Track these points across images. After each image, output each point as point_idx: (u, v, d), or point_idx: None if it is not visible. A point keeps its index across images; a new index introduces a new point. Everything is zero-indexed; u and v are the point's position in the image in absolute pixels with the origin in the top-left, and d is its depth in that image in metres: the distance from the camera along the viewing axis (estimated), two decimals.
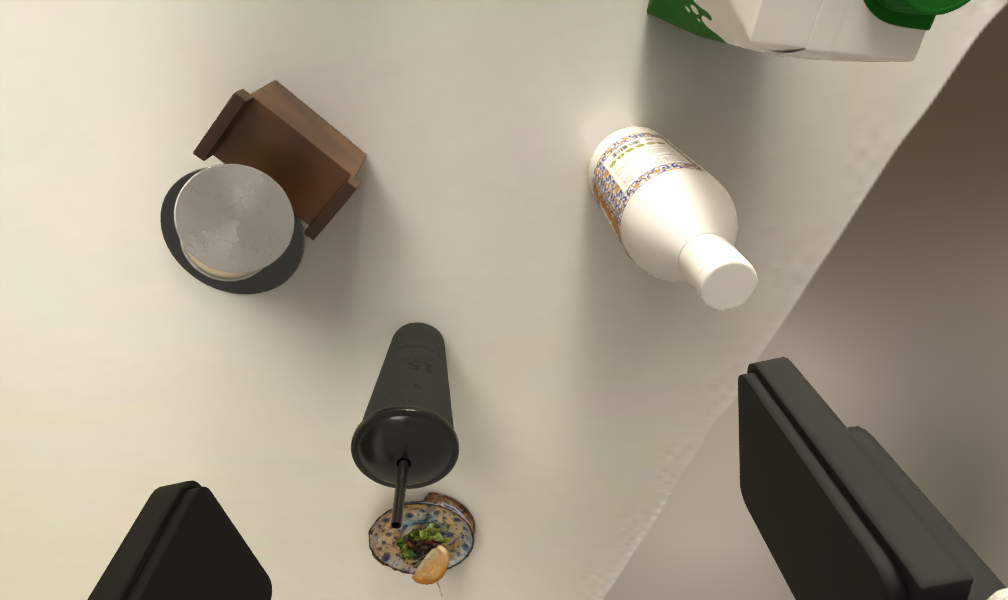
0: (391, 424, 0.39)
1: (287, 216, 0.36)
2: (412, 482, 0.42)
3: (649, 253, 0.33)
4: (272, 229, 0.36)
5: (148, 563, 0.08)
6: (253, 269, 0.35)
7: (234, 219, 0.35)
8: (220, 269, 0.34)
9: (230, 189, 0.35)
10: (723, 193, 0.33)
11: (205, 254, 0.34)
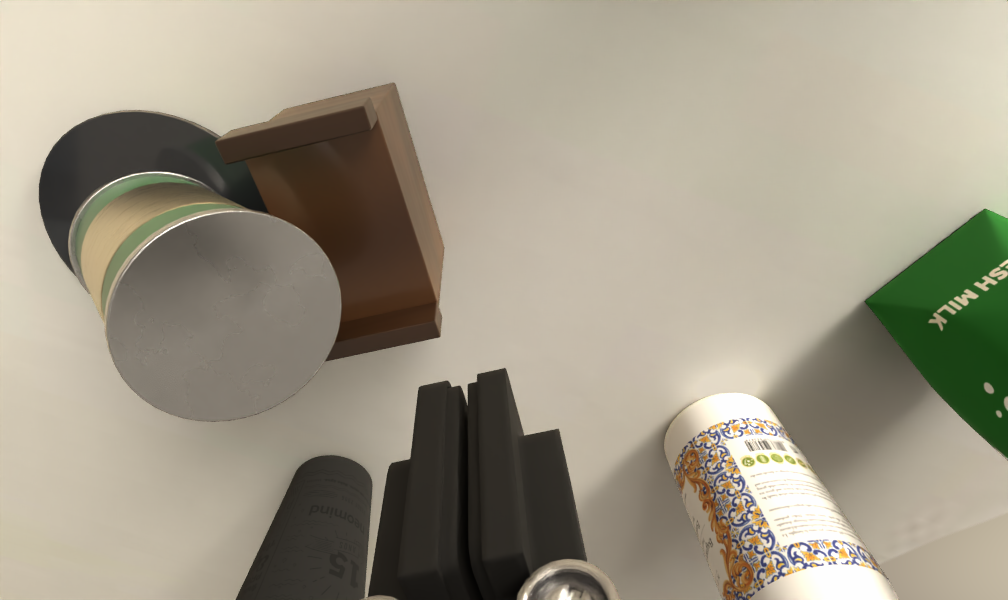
0: None
1: (322, 345, 0.19)
2: None
3: None
4: (285, 359, 0.19)
5: (449, 440, 0.09)
6: (213, 419, 0.18)
7: (233, 321, 0.17)
8: (152, 402, 0.16)
9: (258, 265, 0.17)
10: None
11: (140, 367, 0.16)
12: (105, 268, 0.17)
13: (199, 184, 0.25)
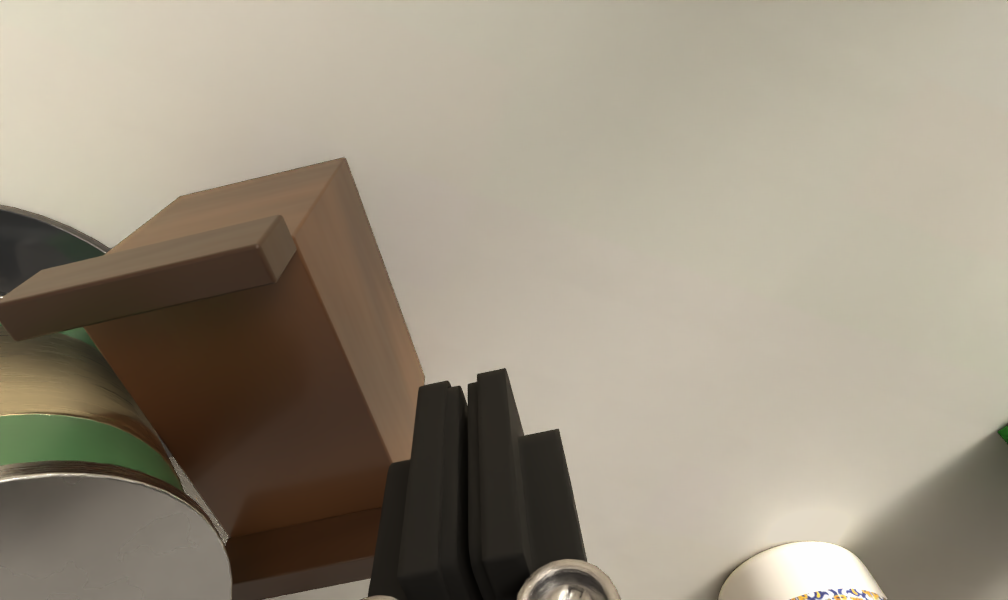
0: None
1: None
2: None
3: None
4: None
5: (449, 440, 0.09)
6: None
7: None
8: None
9: (44, 567, 0.09)
10: None
11: None
12: None
13: None
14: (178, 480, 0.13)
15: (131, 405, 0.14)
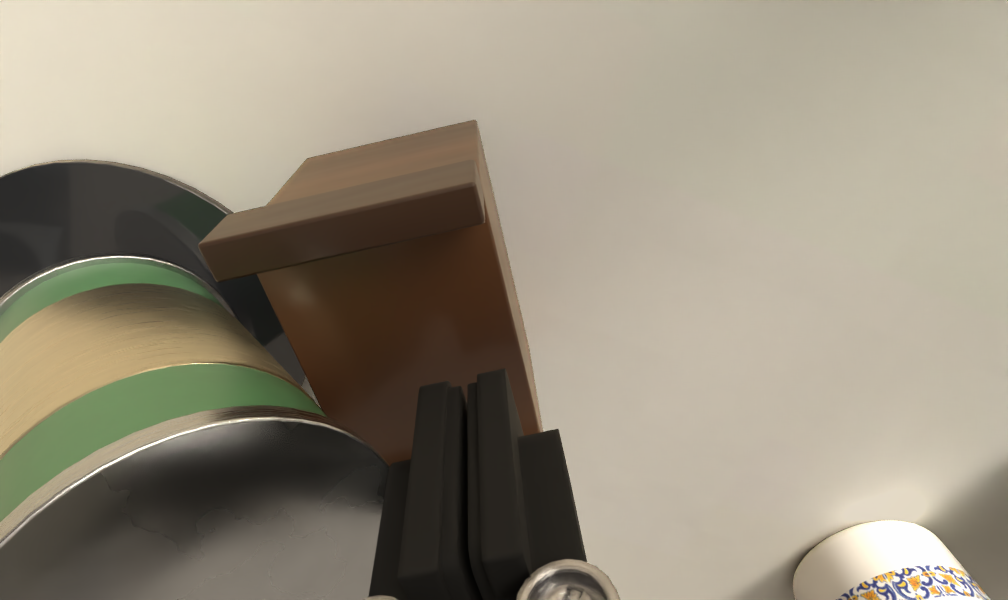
0: None
1: None
2: None
3: None
4: None
5: (449, 440, 0.09)
6: None
7: None
8: None
9: (261, 512, 0.09)
10: None
11: None
12: None
13: (177, 270, 0.17)
14: None
15: None
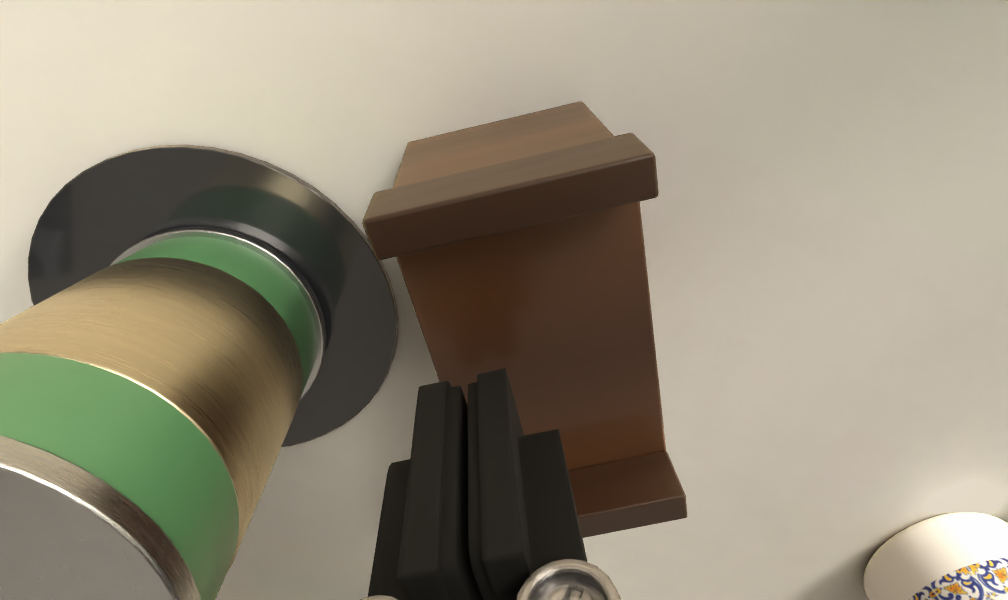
0: None
1: None
2: None
3: None
4: None
5: (449, 440, 0.09)
6: None
7: None
8: None
9: None
10: None
11: None
12: None
13: (258, 250, 0.17)
14: (230, 474, 0.10)
15: (234, 368, 0.12)
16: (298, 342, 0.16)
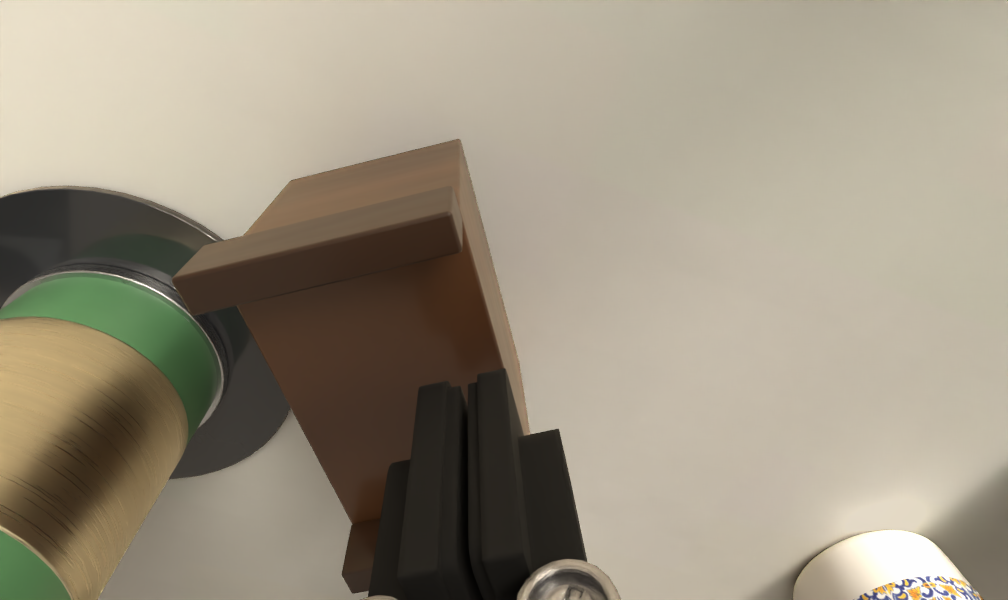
0: None
1: None
2: None
3: None
4: None
5: (448, 440, 0.09)
6: None
7: None
8: None
9: None
10: None
11: None
12: None
13: (143, 288, 0.17)
14: (52, 568, 0.11)
15: (73, 451, 0.12)
16: (179, 385, 0.16)
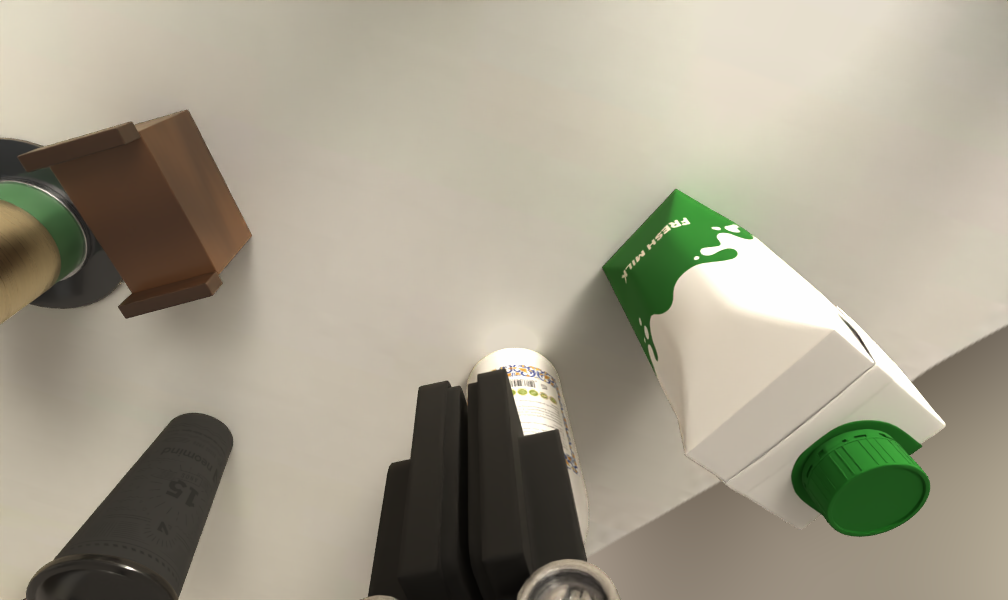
0: (100, 579, 0.30)
1: None
2: None
3: None
4: None
5: (449, 440, 0.09)
6: None
7: None
8: None
9: None
10: (585, 514, 0.31)
11: None
12: None
13: (37, 189, 0.33)
14: None
15: None
16: (53, 234, 0.33)
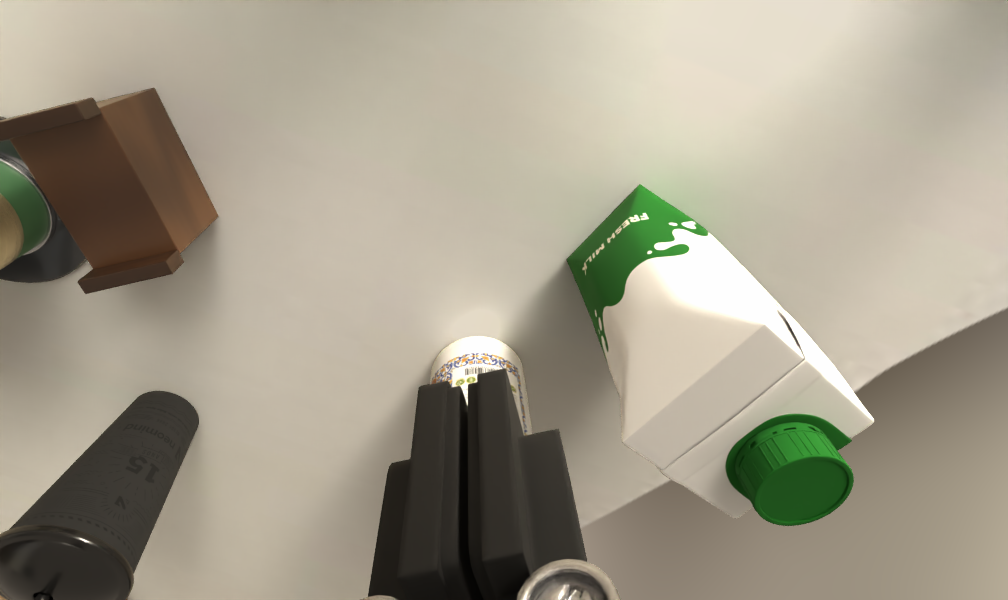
0: (53, 550, 0.31)
1: None
2: None
3: None
4: None
5: (449, 440, 0.09)
6: None
7: None
8: None
9: None
10: None
11: None
12: None
13: (2, 162, 0.34)
14: None
15: None
16: (16, 207, 0.33)
